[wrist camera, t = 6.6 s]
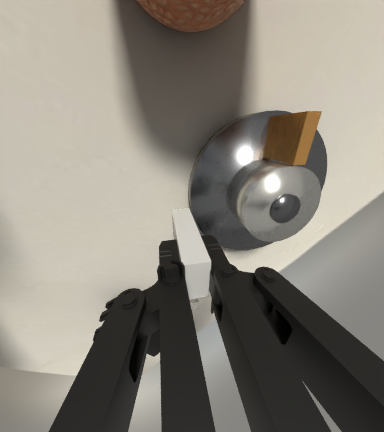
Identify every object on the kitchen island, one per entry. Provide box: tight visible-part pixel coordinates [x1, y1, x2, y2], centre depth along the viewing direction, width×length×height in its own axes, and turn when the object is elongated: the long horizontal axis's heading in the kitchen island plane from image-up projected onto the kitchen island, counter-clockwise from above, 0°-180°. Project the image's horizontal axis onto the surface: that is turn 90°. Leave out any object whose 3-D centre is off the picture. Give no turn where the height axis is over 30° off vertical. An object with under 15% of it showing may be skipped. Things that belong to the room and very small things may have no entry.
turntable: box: [188, 111, 327, 250], centre depth 20 cm, size 18×18×7 cm
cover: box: [227, 160, 321, 242], centre depth 18 cm, size 8×8×5 cm
